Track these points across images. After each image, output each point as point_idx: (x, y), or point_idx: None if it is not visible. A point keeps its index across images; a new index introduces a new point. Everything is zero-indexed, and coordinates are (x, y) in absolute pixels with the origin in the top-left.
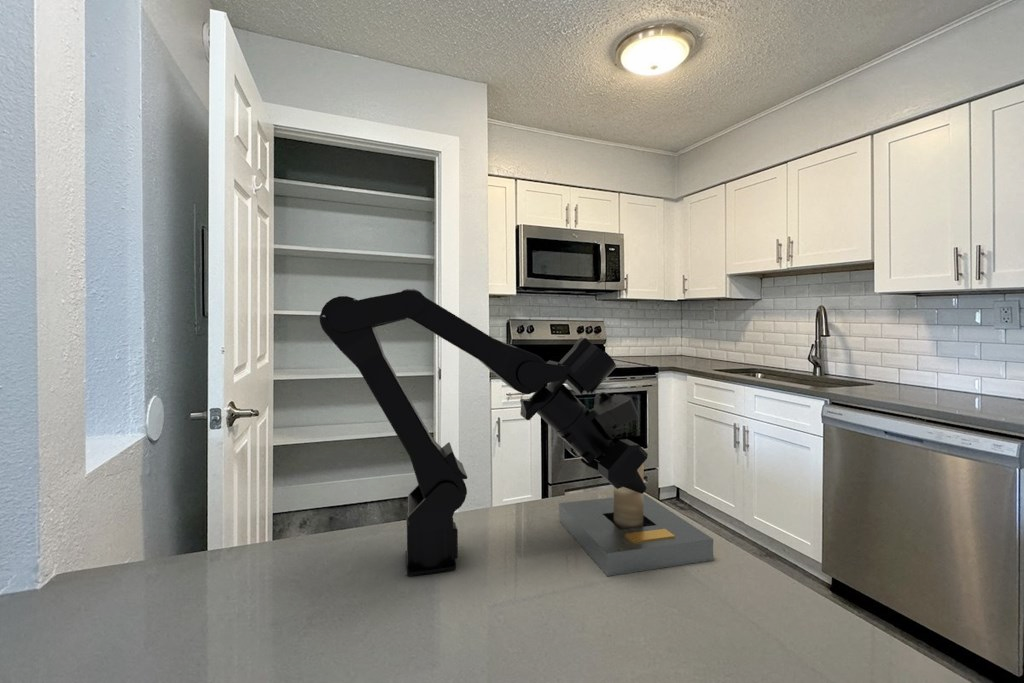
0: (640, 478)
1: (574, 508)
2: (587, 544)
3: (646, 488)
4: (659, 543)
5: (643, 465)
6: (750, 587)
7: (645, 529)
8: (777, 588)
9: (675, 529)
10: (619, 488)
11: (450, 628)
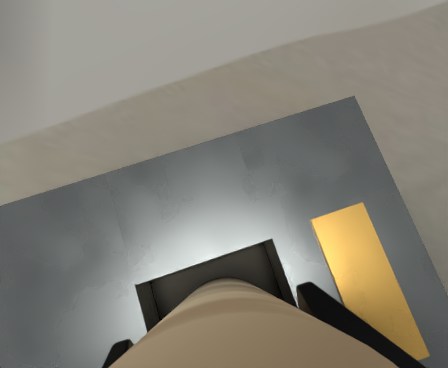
0: (388, 343)
1: None
2: None
3: (313, 283)
4: (416, 264)
5: (281, 301)
6: (433, 86)
7: None
8: (426, 38)
9: (300, 185)
10: None
11: None
